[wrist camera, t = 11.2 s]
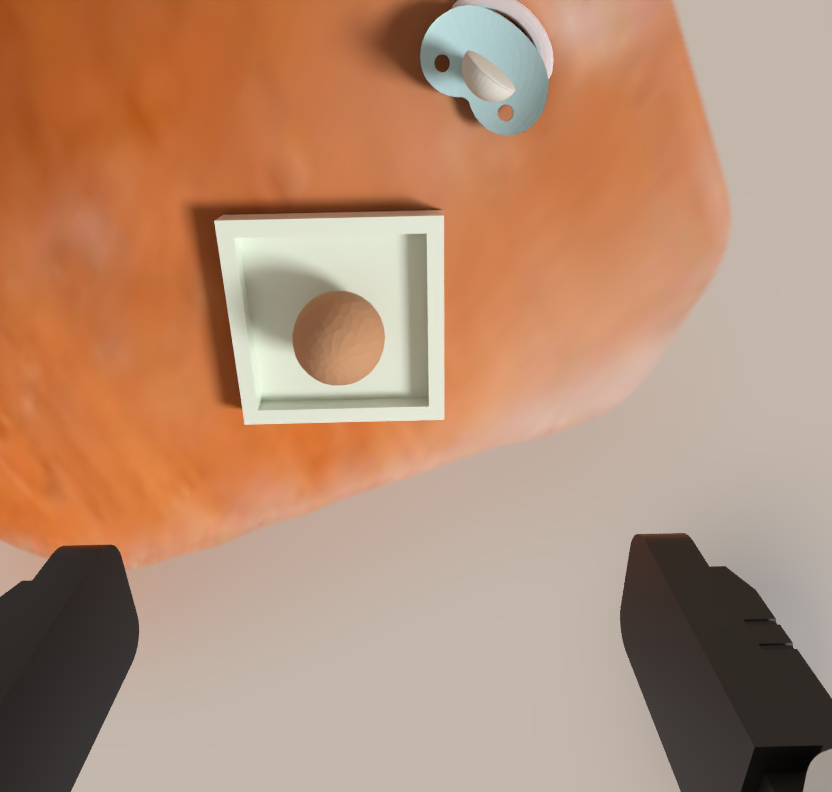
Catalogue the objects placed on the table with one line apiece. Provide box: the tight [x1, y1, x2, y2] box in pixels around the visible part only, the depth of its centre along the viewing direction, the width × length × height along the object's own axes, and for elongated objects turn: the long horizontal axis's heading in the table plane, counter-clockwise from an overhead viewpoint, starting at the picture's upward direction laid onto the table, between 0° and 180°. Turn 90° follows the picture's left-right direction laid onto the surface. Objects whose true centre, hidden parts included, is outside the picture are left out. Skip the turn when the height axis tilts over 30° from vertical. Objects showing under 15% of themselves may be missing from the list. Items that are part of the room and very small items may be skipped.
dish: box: [214, 210, 444, 424], centre depth 41 cm, size 13×13×2 cm
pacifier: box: [420, 0, 554, 135], centre depth 33 cm, size 7×6×6 cm
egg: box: [292, 291, 385, 386], centre depth 38 cm, size 5×5×7 cm
